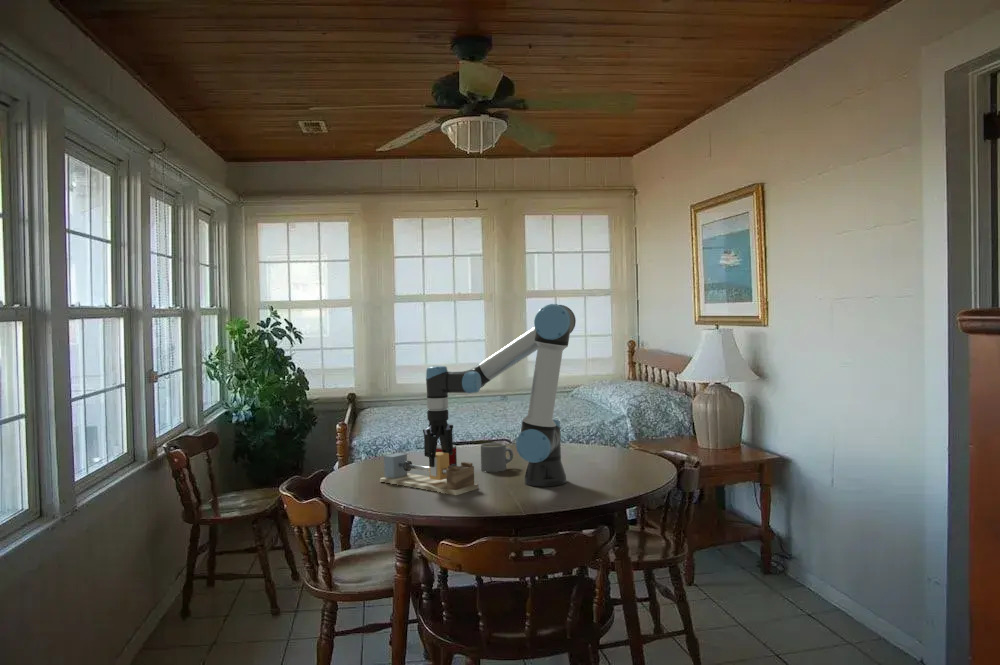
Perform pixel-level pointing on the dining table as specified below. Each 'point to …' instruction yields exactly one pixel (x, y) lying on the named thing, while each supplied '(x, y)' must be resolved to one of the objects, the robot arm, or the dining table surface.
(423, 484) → the rail board
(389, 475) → the block
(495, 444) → the coffee mug
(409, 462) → the rail rod
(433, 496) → the dining table surface
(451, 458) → the canned food
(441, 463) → the tan block with hole
